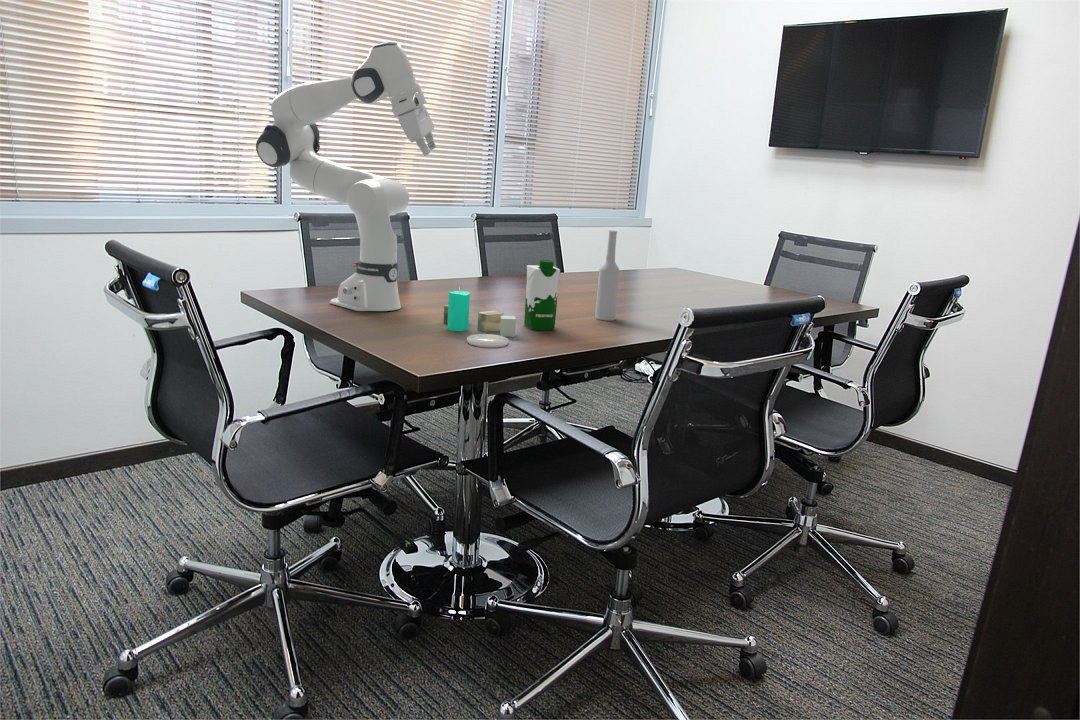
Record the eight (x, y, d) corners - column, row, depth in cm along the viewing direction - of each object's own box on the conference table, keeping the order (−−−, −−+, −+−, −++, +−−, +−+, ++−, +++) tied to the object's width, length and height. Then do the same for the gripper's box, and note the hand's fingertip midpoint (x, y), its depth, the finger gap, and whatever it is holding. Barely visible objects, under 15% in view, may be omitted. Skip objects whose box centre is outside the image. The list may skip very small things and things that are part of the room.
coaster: (458, 342, 201) (458, 338, 200) (481, 335, 210) (481, 332, 210) (494, 349, 196) (494, 346, 195) (515, 342, 205) (515, 338, 205)
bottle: (614, 321, 242) (622, 232, 235) (593, 319, 243) (601, 230, 236) (616, 317, 248) (624, 231, 241) (596, 315, 249) (603, 229, 242)
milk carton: (530, 331, 220) (535, 262, 215) (520, 324, 228) (524, 257, 223) (558, 330, 223) (563, 262, 218) (547, 323, 231) (552, 258, 226)
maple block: (477, 329, 218) (478, 312, 217) (493, 327, 222) (494, 310, 221) (485, 332, 215) (486, 314, 214) (502, 330, 219) (503, 313, 218)
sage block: (500, 336, 211) (501, 318, 210) (499, 332, 215) (500, 315, 214) (515, 336, 212) (516, 319, 211) (513, 333, 216) (514, 316, 215)
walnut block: (443, 322, 223) (444, 306, 222) (449, 319, 228) (450, 303, 227) (459, 324, 222) (460, 307, 221) (465, 321, 227) (466, 305, 226)
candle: (449, 331, 213) (450, 288, 210) (445, 326, 218) (447, 284, 215) (470, 331, 214) (472, 289, 211) (466, 326, 220) (468, 285, 217)
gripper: (406, 102, 216) (426, 149, 221) (390, 111, 197) (412, 162, 202) (426, 94, 214) (446, 141, 220) (412, 102, 196) (434, 153, 201)
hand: (430, 151), depth 211 cm, fingers open, 8 cm apart
